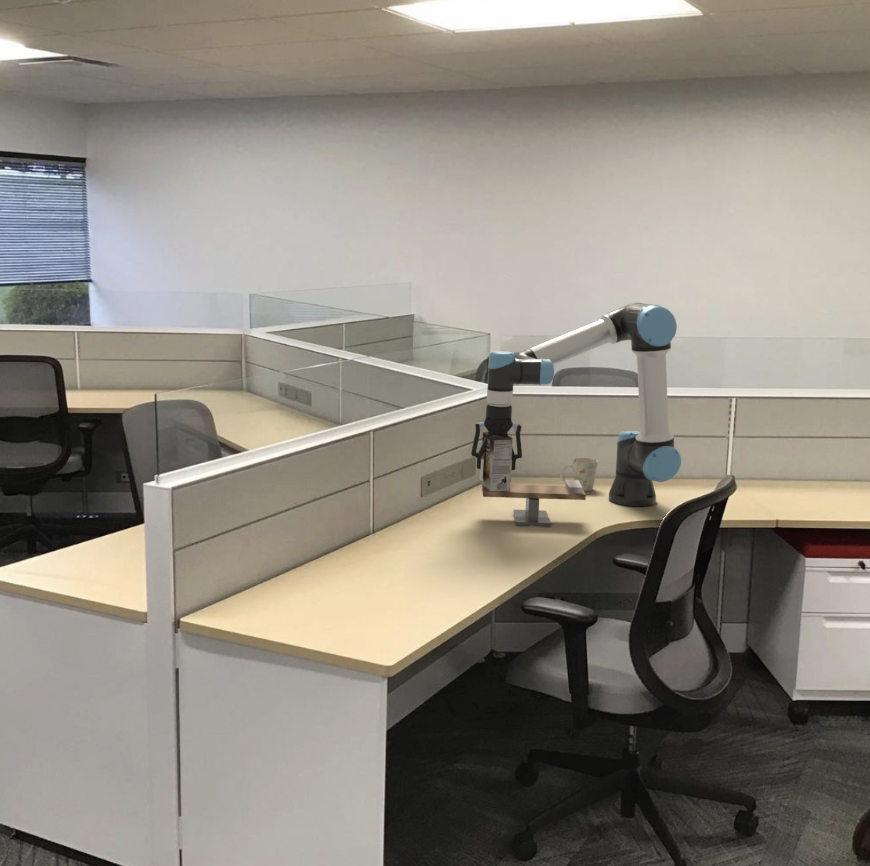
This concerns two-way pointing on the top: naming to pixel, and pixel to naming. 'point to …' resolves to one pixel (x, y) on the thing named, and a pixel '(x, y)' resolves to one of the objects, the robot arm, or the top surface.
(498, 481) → the coffee box
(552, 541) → the top surface
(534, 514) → the pivot stand
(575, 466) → the mug
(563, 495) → the beam
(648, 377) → the robot arm
